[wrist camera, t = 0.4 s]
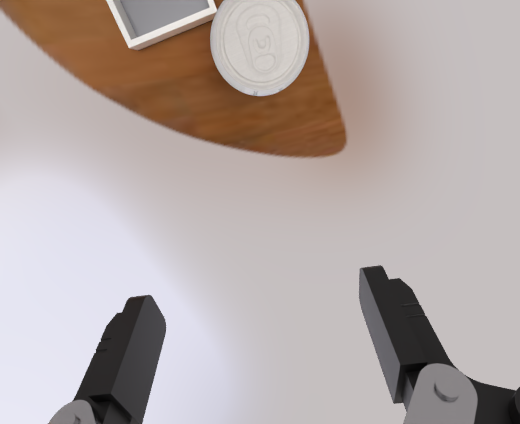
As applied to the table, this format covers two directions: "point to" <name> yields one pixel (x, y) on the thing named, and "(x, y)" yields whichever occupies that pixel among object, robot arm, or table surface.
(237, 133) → the table surface
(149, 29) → the white square tray
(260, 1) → the beer can
